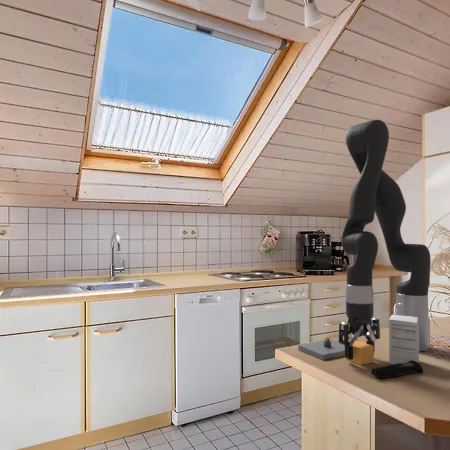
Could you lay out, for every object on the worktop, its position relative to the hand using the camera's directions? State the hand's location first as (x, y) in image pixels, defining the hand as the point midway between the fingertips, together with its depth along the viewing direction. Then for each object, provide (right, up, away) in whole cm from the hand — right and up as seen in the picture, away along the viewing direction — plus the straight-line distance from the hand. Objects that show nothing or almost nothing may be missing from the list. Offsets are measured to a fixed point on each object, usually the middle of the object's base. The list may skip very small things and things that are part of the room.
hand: (359, 356), depth 109 cm
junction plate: (-7, -1, +9) cm, 11 cm away
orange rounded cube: (0, -1, 0) cm, 1 cm away
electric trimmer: (+6, -1, -11) cm, 12 cm away
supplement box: (+12, -1, -1) cm, 12 cm away
